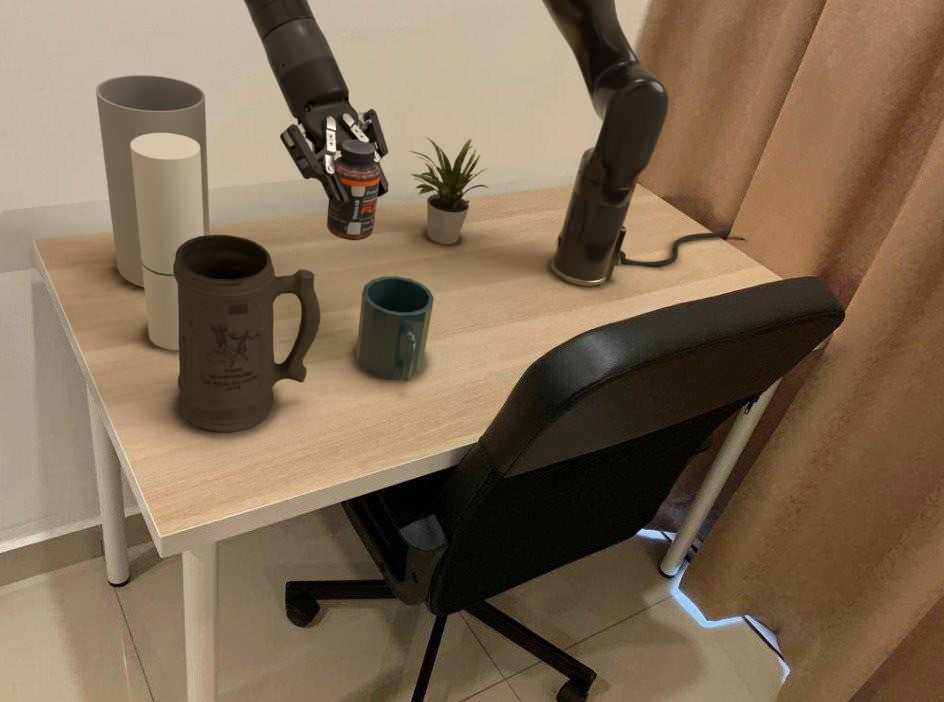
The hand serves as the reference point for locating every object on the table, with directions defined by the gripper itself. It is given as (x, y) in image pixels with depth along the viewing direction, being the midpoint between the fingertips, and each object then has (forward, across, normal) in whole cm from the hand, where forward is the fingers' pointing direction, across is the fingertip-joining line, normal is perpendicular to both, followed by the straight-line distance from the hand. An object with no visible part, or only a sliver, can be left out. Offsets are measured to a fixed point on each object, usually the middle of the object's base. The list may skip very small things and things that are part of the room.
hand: (363, 199), depth 94 cm
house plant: (+5, +32, +22) cm, 39 cm away
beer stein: (+17, -20, +10) cm, 28 cm away
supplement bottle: (+2, 0, +5) cm, 6 cm away
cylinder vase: (-4, -12, +32) cm, 34 cm away
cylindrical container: (+6, -19, +22) cm, 30 cm away
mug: (+20, -2, +6) cm, 21 cm away
